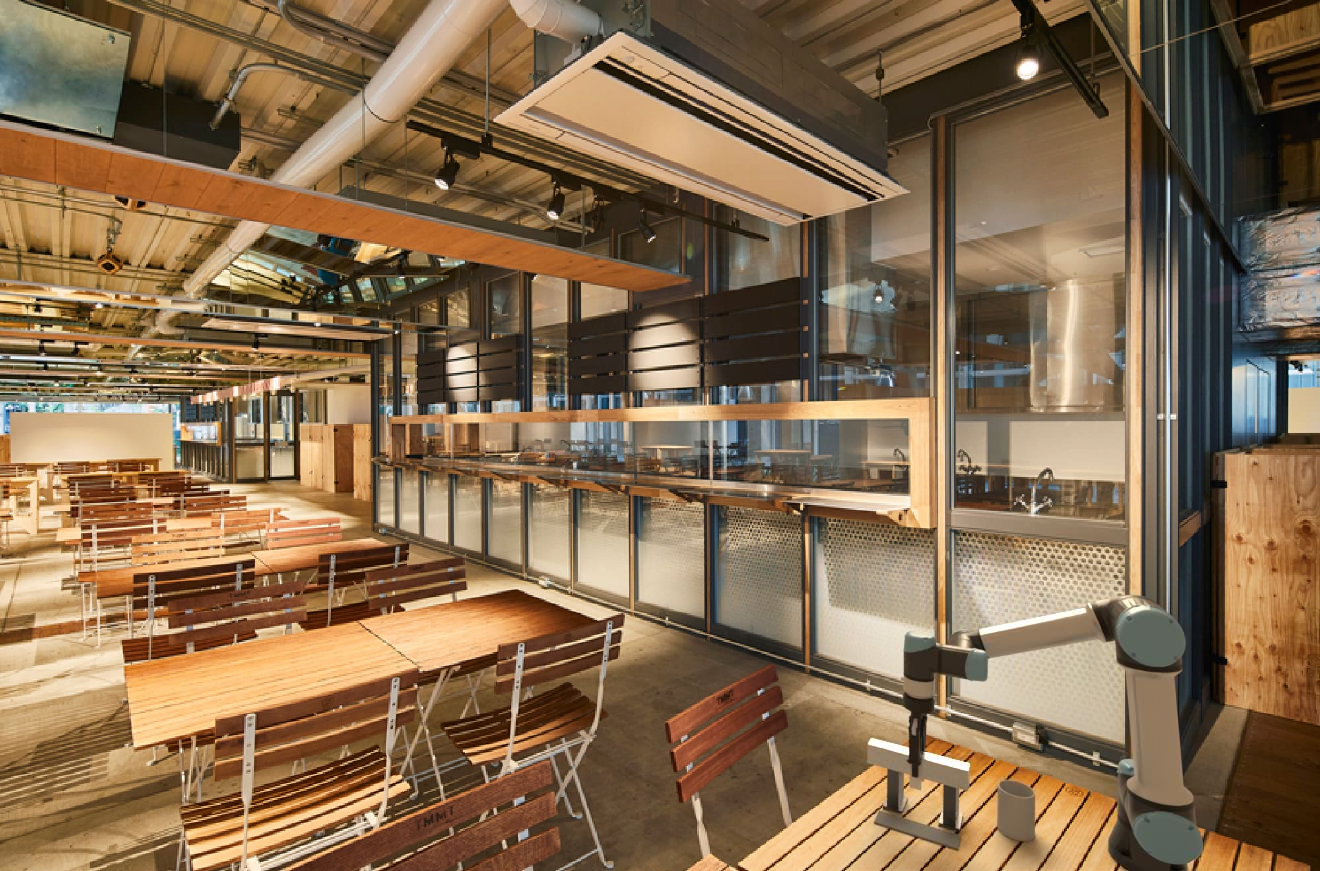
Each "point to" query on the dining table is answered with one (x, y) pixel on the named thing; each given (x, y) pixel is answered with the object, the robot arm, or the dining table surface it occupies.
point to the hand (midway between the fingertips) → (916, 783)
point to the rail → (932, 764)
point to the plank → (918, 829)
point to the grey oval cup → (1016, 810)
